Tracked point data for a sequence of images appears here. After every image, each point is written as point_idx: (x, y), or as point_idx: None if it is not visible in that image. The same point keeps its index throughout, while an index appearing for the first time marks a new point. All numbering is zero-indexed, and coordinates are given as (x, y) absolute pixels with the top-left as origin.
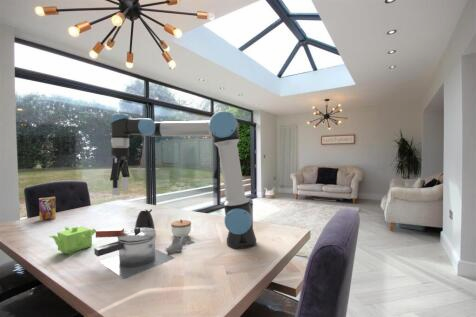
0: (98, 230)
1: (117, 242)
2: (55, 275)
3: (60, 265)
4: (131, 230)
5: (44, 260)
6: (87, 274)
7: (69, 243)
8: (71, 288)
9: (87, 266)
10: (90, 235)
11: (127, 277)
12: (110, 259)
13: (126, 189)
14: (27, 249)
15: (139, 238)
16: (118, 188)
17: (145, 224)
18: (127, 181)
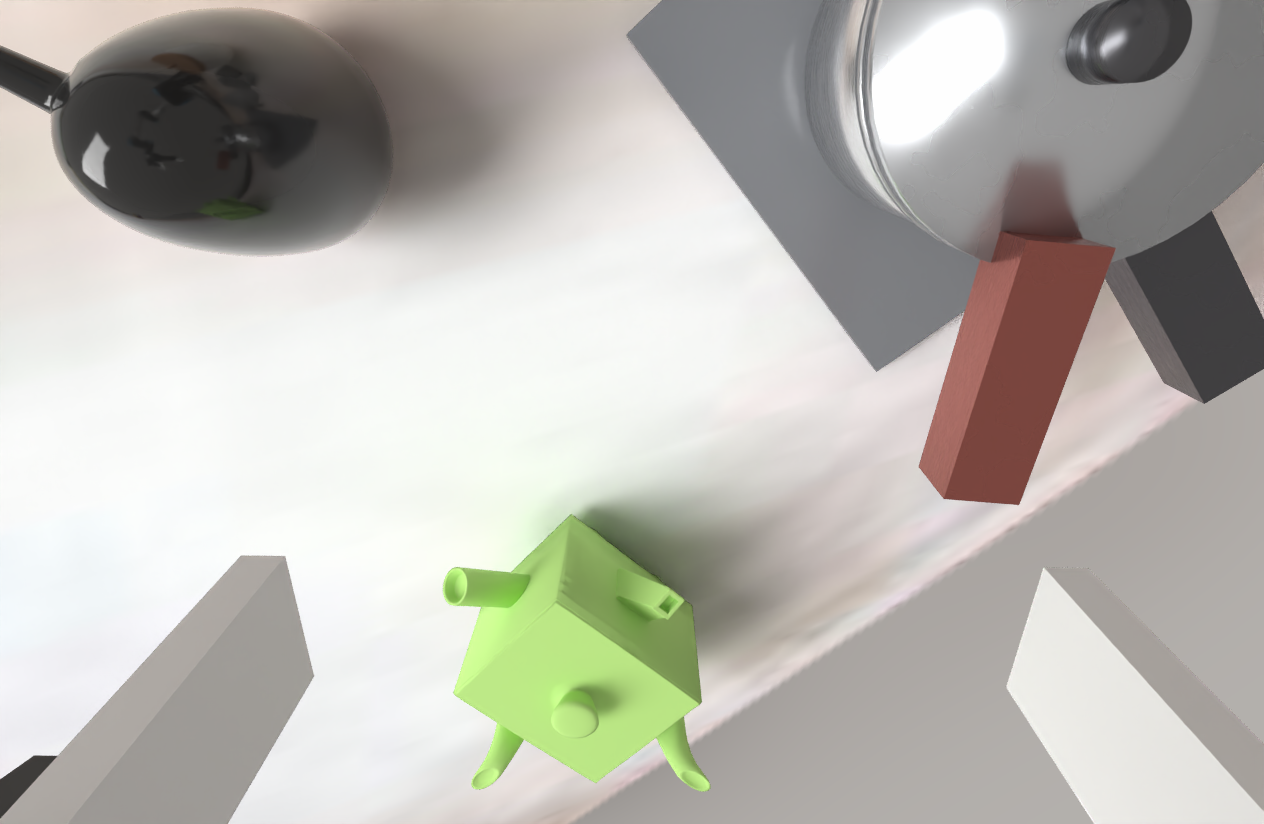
0: (1001, 487)
1: None
2: (951, 545)
3: (814, 576)
4: (959, 152)
5: (711, 678)
6: None
7: (684, 645)
8: (1169, 402)
9: (886, 424)
10: (569, 573)
11: None
12: (866, 302)
13: (275, 599)
14: (521, 814)
15: None
16: (1220, 721)
17: (329, 108)
18: (91, 802)
